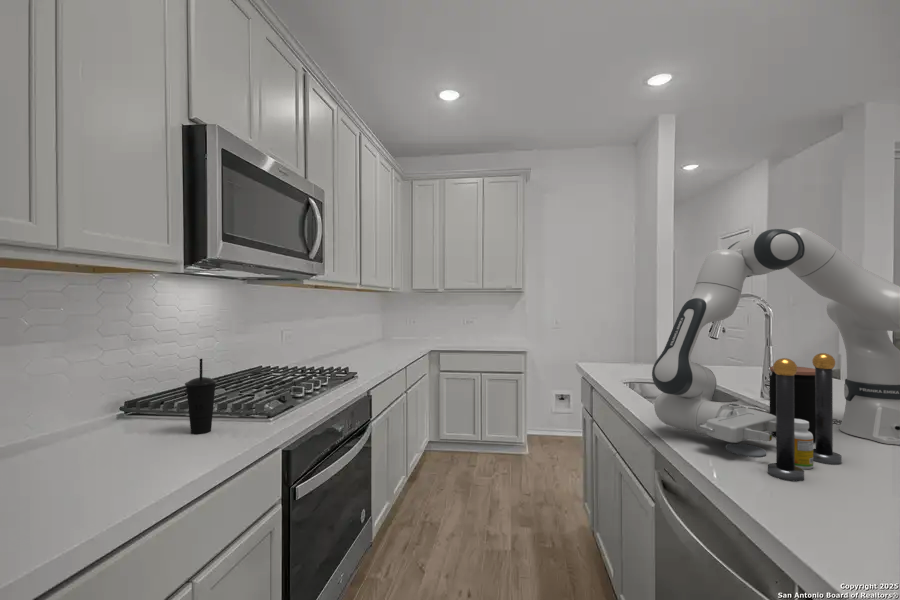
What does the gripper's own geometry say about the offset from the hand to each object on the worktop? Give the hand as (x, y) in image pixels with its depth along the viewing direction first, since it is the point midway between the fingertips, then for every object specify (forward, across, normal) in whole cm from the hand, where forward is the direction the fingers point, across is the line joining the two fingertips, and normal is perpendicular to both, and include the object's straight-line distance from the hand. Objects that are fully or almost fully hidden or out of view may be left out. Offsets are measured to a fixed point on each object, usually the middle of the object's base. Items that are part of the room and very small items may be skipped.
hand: (780, 434), depth 102 cm
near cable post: (+5, -9, +6) cm, 12 cm away
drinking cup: (-92, -111, +6) cm, 144 cm away
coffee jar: (-7, +23, +6) cm, 25 cm away
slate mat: (-7, 0, +6) cm, 9 cm away
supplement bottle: (+3, 0, +6) cm, 7 cm away
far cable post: (+5, +9, +6) cm, 12 cm away
